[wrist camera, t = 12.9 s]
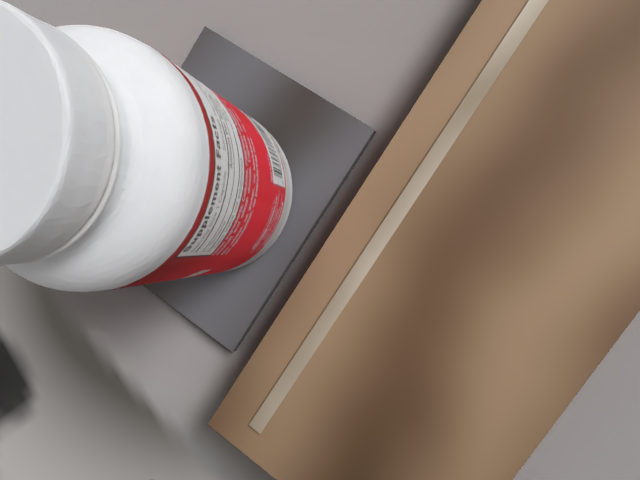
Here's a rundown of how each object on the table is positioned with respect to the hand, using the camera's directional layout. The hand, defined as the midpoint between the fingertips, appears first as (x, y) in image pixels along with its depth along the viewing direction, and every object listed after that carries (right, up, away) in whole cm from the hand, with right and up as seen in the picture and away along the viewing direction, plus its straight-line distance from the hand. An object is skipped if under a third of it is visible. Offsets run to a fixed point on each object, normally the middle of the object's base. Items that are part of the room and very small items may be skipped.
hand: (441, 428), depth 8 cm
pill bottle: (-6, +5, +12) cm, 14 cm away
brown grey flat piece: (+2, +8, +10) cm, 13 cm away
